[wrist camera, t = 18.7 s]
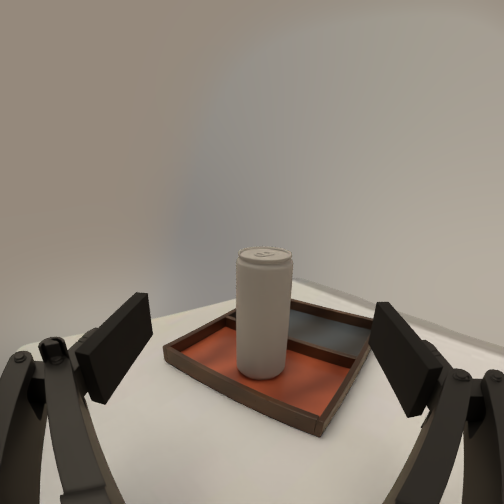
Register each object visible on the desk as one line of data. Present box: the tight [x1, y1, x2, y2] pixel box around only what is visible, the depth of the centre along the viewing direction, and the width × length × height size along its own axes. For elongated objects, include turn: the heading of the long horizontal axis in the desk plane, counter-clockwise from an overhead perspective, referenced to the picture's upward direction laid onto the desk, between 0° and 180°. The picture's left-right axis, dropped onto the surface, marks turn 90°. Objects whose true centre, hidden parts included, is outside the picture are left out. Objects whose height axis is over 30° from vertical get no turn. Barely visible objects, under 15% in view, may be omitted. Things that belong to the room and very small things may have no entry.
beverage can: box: [236, 247, 293, 380], centre depth 26 cm, size 5×5×12 cm
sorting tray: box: [163, 299, 373, 437], centre depth 31 cm, size 18×20×2 cm
